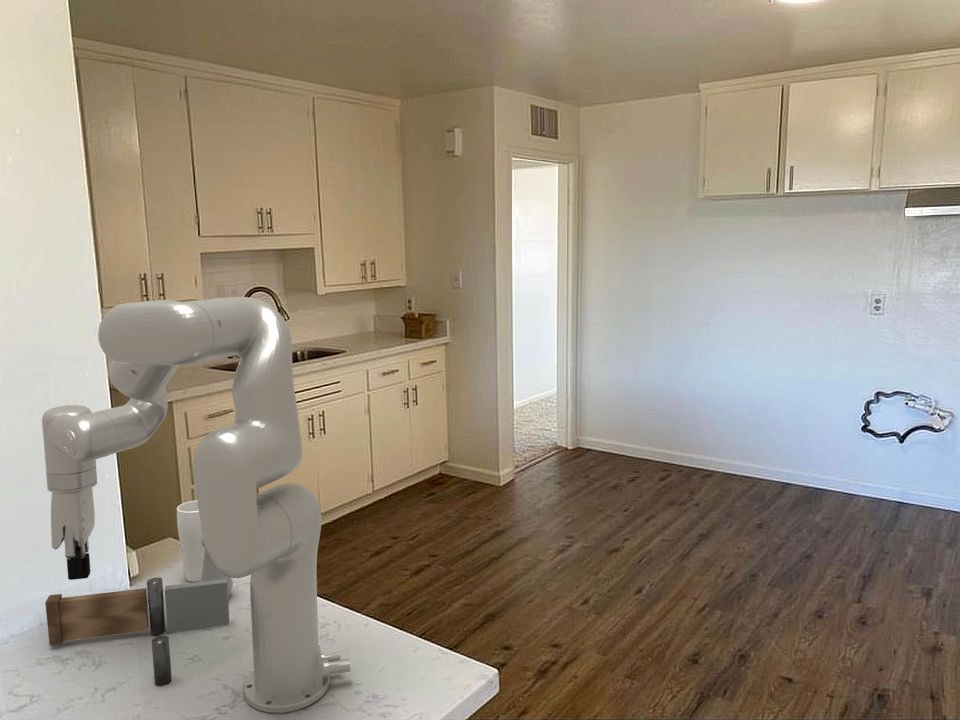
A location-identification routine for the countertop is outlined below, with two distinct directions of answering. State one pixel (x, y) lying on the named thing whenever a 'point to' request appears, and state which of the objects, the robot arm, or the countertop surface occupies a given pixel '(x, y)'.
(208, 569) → the salt shaker
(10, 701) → the countertop surface
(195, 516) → the drinking glass
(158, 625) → the hinge post
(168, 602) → the grey rectangular slab
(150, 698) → the countertop surface
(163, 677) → the post
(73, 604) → the gate
